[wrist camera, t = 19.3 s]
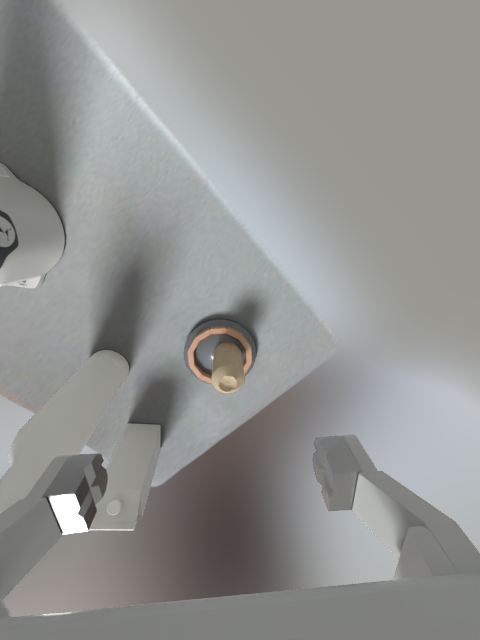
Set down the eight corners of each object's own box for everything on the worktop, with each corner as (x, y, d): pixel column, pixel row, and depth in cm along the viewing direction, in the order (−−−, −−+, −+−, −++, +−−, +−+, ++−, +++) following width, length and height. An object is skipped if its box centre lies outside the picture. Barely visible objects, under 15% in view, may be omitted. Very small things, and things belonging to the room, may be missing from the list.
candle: (224, 336, 50) (224, 363, 40) (247, 351, 51) (252, 380, 42) (207, 357, 51) (204, 388, 42) (230, 371, 53) (232, 404, 43)
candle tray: (188, 383, 55) (186, 390, 52) (180, 320, 49) (178, 325, 47) (255, 379, 55) (257, 386, 53) (255, 317, 50) (256, 321, 48)
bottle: (126, 387, 54) (22, 569, 26) (86, 379, 53) (-69, 559, 25) (133, 354, 51) (24, 515, 23) (90, 344, 50) (-77, 502, 22)
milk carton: (160, 448, 60) (134, 544, 43) (128, 447, 60) (88, 544, 42) (161, 424, 58) (133, 514, 40) (127, 422, 57) (84, 514, 39)
